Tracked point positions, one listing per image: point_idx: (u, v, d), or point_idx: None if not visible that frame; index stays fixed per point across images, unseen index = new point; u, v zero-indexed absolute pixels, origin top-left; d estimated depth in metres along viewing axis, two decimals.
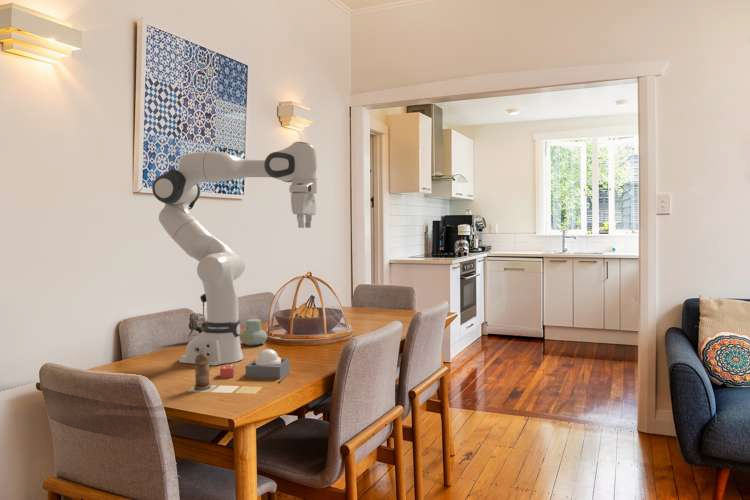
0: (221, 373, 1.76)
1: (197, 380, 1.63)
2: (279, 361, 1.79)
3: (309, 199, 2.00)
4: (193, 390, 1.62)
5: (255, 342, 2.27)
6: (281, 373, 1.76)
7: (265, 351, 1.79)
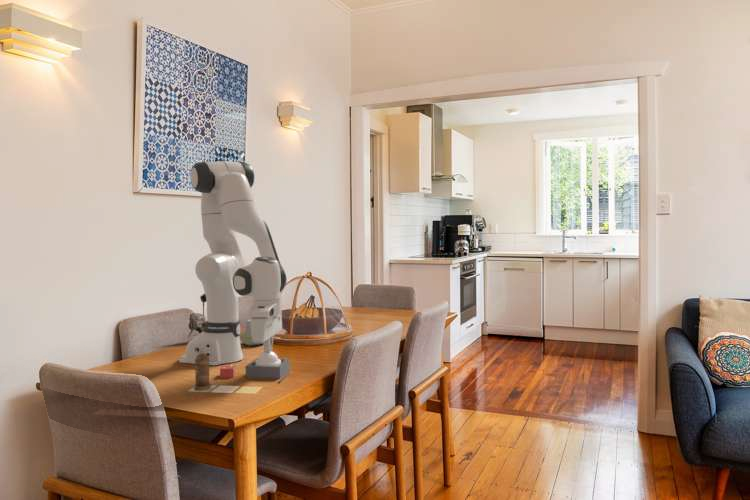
0: (221, 373, 1.76)
1: (197, 380, 1.63)
2: (279, 363, 1.79)
3: (273, 319, 1.81)
4: (193, 390, 1.62)
5: None
6: (281, 373, 1.76)
7: (265, 353, 1.79)
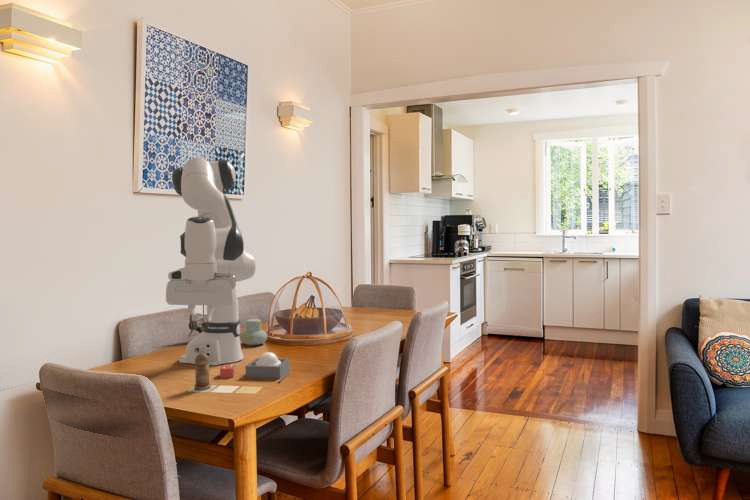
0: (221, 373, 1.76)
1: (197, 380, 1.63)
2: (279, 364, 1.80)
3: (202, 286, 1.62)
4: (193, 390, 1.62)
5: (255, 342, 2.27)
6: (281, 373, 1.76)
7: (265, 354, 1.79)
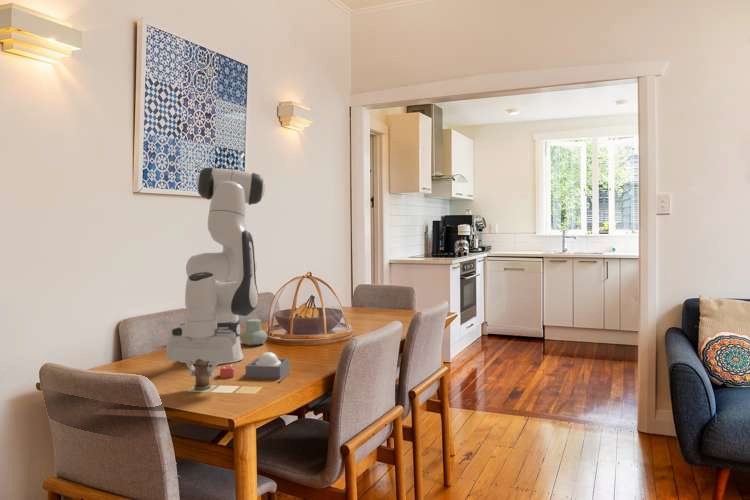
0: (221, 373, 1.76)
1: (197, 380, 1.63)
2: (279, 364, 1.80)
3: (203, 343, 1.62)
4: (193, 390, 1.62)
5: (255, 342, 2.27)
6: (281, 373, 1.76)
7: (265, 354, 1.79)
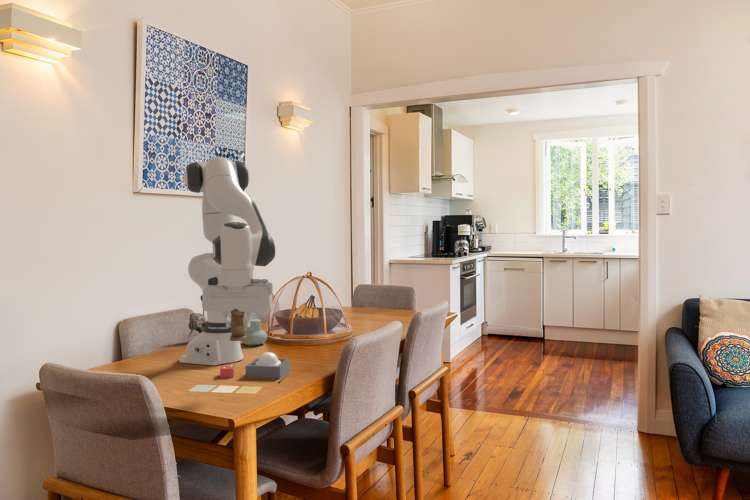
0: (221, 373, 1.76)
1: (233, 331, 1.61)
2: (279, 364, 1.80)
3: (239, 292, 1.60)
4: (193, 390, 1.62)
5: (255, 342, 2.27)
6: (281, 373, 1.76)
7: (265, 354, 1.79)
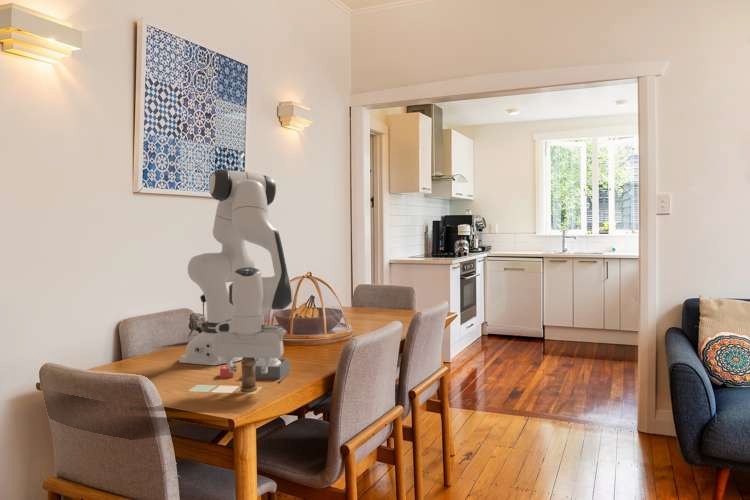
0: (221, 373, 1.76)
1: (244, 381, 1.61)
2: (279, 364, 1.80)
3: (250, 339, 1.61)
4: (193, 390, 1.62)
5: None
6: (281, 373, 1.76)
7: None
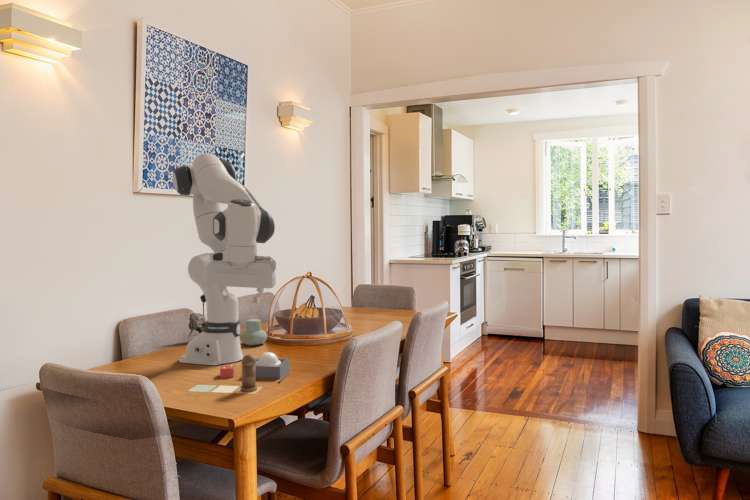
0: (221, 373, 1.76)
1: (244, 381, 1.61)
2: (279, 364, 1.80)
3: (243, 268, 1.64)
4: (193, 390, 1.62)
5: (255, 342, 2.27)
6: (281, 373, 1.76)
7: (265, 354, 1.79)
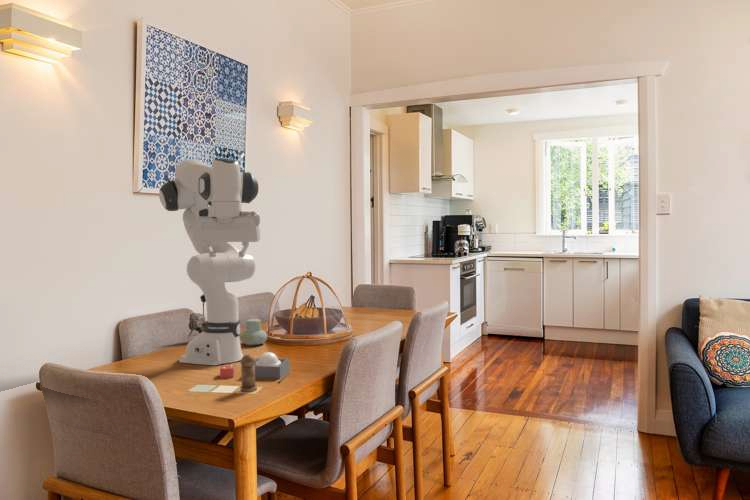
0: (221, 373, 1.76)
1: (244, 382, 1.61)
2: (279, 364, 1.80)
3: (228, 224, 1.70)
4: (193, 390, 1.62)
5: (255, 342, 2.27)
6: (281, 373, 1.76)
7: (265, 354, 1.79)
